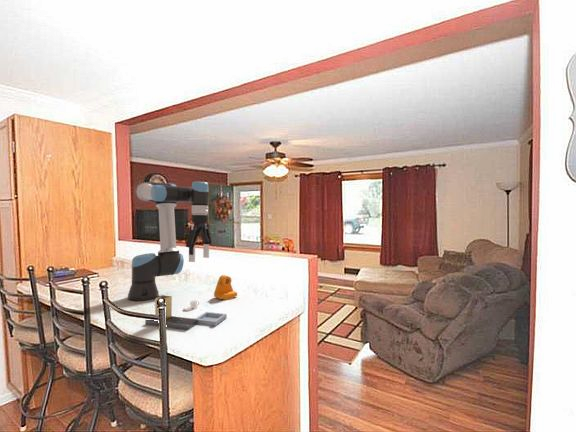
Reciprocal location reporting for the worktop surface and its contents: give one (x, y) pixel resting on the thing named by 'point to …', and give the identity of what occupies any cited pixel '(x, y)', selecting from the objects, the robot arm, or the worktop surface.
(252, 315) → the worktop surface
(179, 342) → the worktop surface
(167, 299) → the tan rectangular block
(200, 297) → the worktop surface
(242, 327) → the worktop surface
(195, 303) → the teacup and saucer
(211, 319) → the tray
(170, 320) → the dark grey shallow tray
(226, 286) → the bracket
